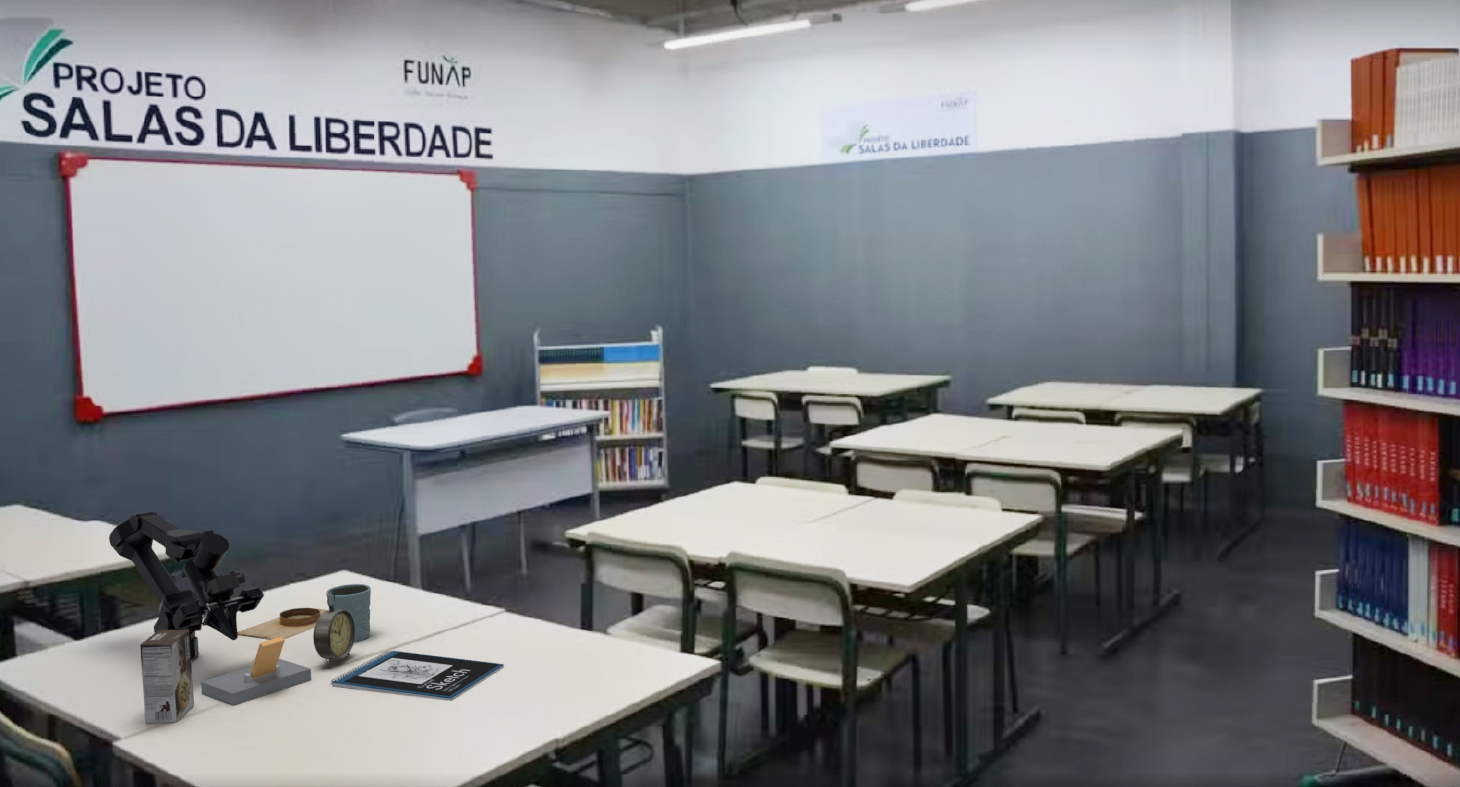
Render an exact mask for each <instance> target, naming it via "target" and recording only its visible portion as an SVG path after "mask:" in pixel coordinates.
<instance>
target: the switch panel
mask: <svg viewBox="0 0 1460 787" xmlns="http://www.w3.org/2000/svg"><path fill="white" fill-rule="evenodd" d="M252 667H253V665H252V666H249V667H245V668H241V669H239V670H236V671H233V672H229V673H226V674H223V675H219V676H217V677H213V678H209V679H206V680H203V681H201V682H200V684H201V695H204V696H208V697H211V698H212V699H213V698H214V699H215V700H218V701H220V702H224V703H226V704H229V705H232V706H236V705H238V704H242V703H244V702H248V701H251V700H254V699H257V698H261V697H263V696H266V695H269V694H273V693H276V692H278V691H282V690H285V689H289V688H290V687H293V686H297V685H300V684H303V683H306V682H309V681H312V669H311V668H309V667H307V666H304V665H301V664H297V663H295V662H291V661H288V660H286V659H285V660H284V659H282V658H279V660H278V663H277V666H276V669H275V672H273V673H270V674H267V675H264V676H260V677H257V678H254V679H253V678H252V677H251V674H250V673H251V670H252Z"/></svg>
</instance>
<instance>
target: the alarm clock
mask: <svg viewBox="0 0 1460 787" xmlns="http://www.w3.org/2000/svg"><path fill="white" fill-rule="evenodd" d="M331 593H332V594H333V596H334V601H333V604H330V605H329V603H328V601H329V596H330V594H331ZM326 599H327V600H326V603H327V606H328V608H329V607H330V610H329V609H326V610H327V611H325V612H323V613H322V614H321V615H320V617H319V618H318V620H317V622H316V624H315V628H313V636H312V638H313V647H314V649H315V652H316V653H317V655H318V656H319V657H320V658H322V659H324V661H325V662H326V661H327V660H328V661H327V666H326V668H327V669H330V668H331V664H332V661H333V660H343V659H344V658H346V657H347V656H350V655H351V654H350V652H351V651H352V648H353V646H354V643H355V642H354V638H355V625H354V621H353V618H352V616H351V614H350V613H349V612H348V611H346V610H334V608H333V606H334V602H335V594H334V593H333V592H330V593H329V595H328V598H327V597H326Z"/></svg>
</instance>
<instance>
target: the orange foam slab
mask: <svg viewBox="0 0 1460 787" xmlns="http://www.w3.org/2000/svg"><path fill="white" fill-rule="evenodd" d="M285 640H286V639H283V637H278V638H275V639H271V640H265V641H261V642H259V645H258V648H257V651H256V654H255V658H254V660H253V664H252V666H253V667H252V666H251V667H252V670H251V673H250V674H251V677H252V678H253V679H254V678H257V677H260V676H264V675H267V674H270V673H273V672H275V669H276V666H277V663H278V660H279V659H280V656H281V653H282V650H283V646H284V643H285Z"/></svg>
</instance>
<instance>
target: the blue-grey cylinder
mask: <svg viewBox="0 0 1460 787" xmlns="http://www.w3.org/2000/svg"><path fill="white" fill-rule="evenodd" d="M371 590H372V588H371V586H370V585H368V584H365V583H351V584H342V585H338V586H335V587H331V588H329V589H327V591H325V592H326V593H325V595H326V599H327V598H328V595H329V593H330V592H333V593H334V594H335V602H334V606H333V608H334V610H346V611H348V612H349V613H350V614H351V616H352V618H353V621H354V625H355V638H354V643H358V642H362V641H365V640H367V639H369V637H370V636H371V623H370V620H371V609H370V607H371V593H372V591H371ZM333 601H334V596H333V594H332V593H331V594H330V596H329V601H328V603H329V605H330V604H333ZM328 610H330V607H329V606H328Z"/></svg>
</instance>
